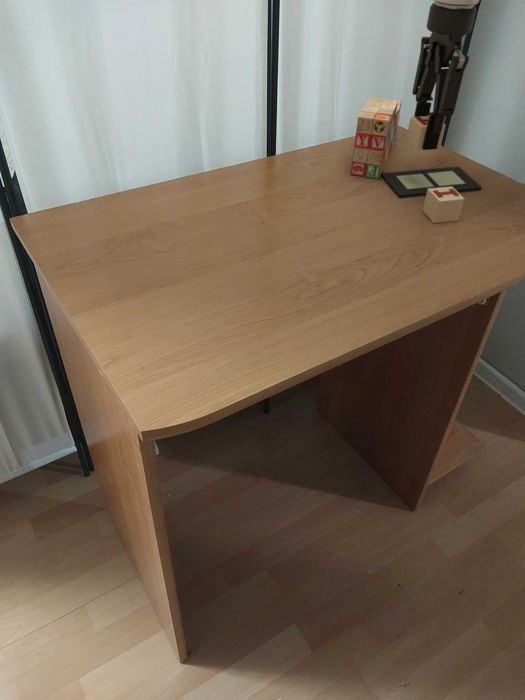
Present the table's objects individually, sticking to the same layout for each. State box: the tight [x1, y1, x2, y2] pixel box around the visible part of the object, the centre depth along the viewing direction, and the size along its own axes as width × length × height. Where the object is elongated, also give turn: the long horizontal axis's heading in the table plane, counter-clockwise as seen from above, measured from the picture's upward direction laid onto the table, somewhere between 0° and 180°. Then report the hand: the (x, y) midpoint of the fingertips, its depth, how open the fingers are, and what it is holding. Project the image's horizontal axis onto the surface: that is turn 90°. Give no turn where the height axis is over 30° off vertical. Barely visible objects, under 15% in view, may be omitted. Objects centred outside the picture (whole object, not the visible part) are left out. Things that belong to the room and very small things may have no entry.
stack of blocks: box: [349, 96, 403, 180], centre depth 116 cm, size 21×6×12 cm, turn 161°
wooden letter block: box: [422, 186, 465, 224], centre depth 100 cm, size 5×5×5 cm
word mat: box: [380, 166, 483, 199], centre depth 111 cm, size 10×18×1 cm, turn 102°
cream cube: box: [406, 116, 447, 151], centre depth 103 cm, size 5×5×5 cm
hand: (423, 142), depth 105 cm, fingers closed on cream cube, 5 cm apart
